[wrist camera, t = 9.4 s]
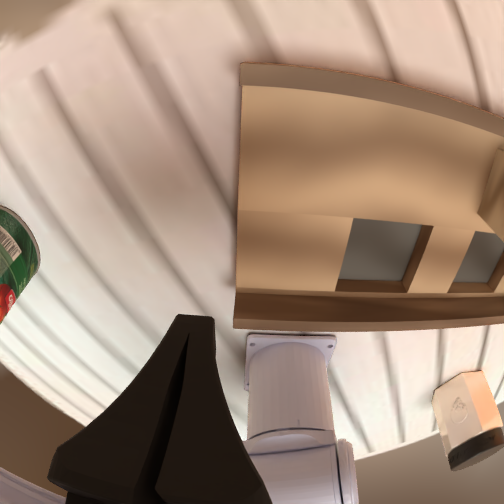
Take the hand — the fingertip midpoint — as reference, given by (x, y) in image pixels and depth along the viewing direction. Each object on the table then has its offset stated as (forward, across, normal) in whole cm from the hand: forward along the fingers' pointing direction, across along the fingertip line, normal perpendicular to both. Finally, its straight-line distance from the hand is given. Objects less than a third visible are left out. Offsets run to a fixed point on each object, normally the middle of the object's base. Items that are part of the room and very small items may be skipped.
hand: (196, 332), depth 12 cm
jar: (+11, -32, +25) cm, 42 cm away
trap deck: (+10, -14, -1) cm, 17 cm away
